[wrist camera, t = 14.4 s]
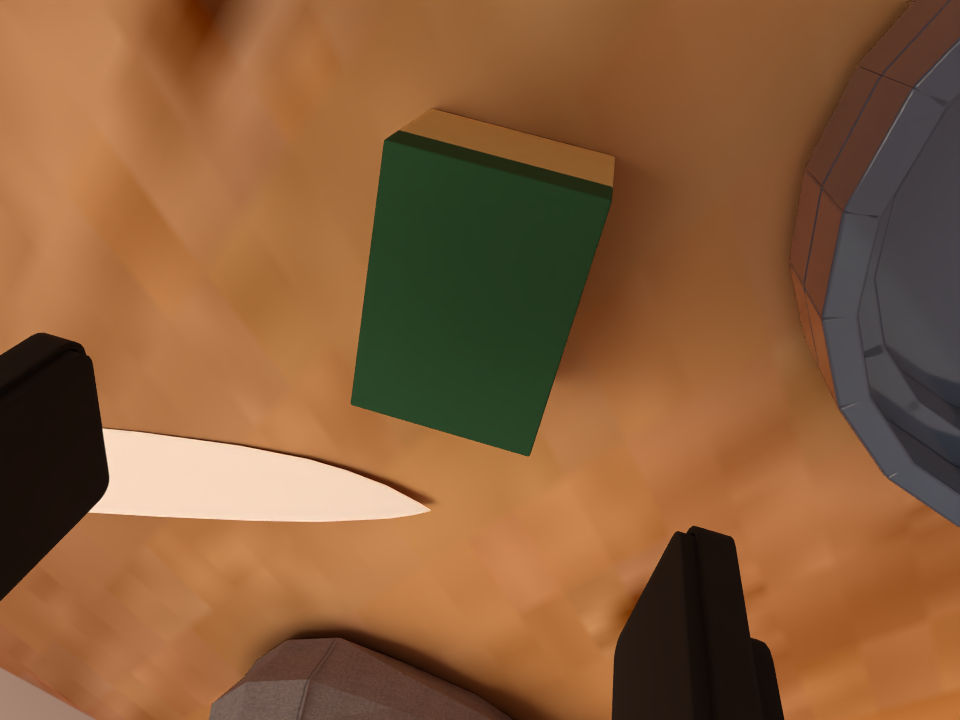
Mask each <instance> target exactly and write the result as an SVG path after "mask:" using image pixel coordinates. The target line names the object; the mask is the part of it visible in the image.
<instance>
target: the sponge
mask: <svg viewBox="0 0 960 720" xmlns="http://www.w3.org/2000/svg"><path fill="white" fill-rule="evenodd" d="M614 168H615V157H614V156H611V155H607V154H603V153H599V152H596V151H592V150H588V149H584V148H580V147H576V146H573V145H569V144H565V143H561V142H557V141H554V140H550V139H546V138H542V137H538V136H535V135H531V134H527V133H523V132H519V131H516V130H512V129H508V128H504V127H500V126H496V125H493V124H489V123H485V122H481V121H477V120H474V119H470V118H466V117H462V116H458V115H455V114H451V113H447V112H443V111H439V110H435V109H430V110H428V111H427V112H425V113H424V114H422V115H421V116H419V117H418V118H416V119H415V120H413V121H412V122H410V123H409V124H407V125H406V126H404V127H403V128H401V129H400V130H399V131H397V132H396V133H394V134H393V135H391V136H390V137H388V138H387V139H385V140H384V146H383V153H382V161H381V169H380V177H379V185H378V193H377V201H376V209H375V216H374V224H373V232H372V240H371V248H370V256H369V264H368V271H367V279H366V287H365V295H364V303H363V311H362V319H361V327H360V334H359V342H358V350H357V358H356V366H355V374H354V382H353V390H352V397H351V405H354V406H357V407H361V408H364V409H368V410H371V411H374V412H378V413H381V414H385V415H388V416H391V417H395V418H398V419H402V420H405V421H409V422H412V423H415V424H419V425H422V426H426V427H429V428H433V429H436V430H439V431H443V432H446V433H450V434H453V435H456V436H460V437H463V438H467V439H470V440H474V441H477V442H480V443H484V444H487V445H491V446H494V447H498V448H501V449H504V450H508V451H511V452H515V453H518V454H522V455H525V456H530V454H531V451H532V447H533V444H534V441H535V438H536V435H537V432H538V429H539V426H540V423H541V420H542V416H543V413H544V410H545V407H546V404H547V401H548V398H549V395H550V392H551V389H552V385H553V382H554V379H555V376H556V373H557V370H558V367H559V364H560V361H561V358H562V354H563V351H564V348H565V345H566V342H567V339H568V336H569V333H570V330H571V327H572V323H573V320H574V317H575V314H576V311H577V308H578V305H579V302H580V299H581V295H582V292H583V289H584V286H585V283H586V280H587V277H588V274H589V271H590V268H591V264H592V261H593V258H594V255H595V252H596V249H597V246H598V243H599V240H600V237H601V233H602V230H603V227H604V224H605V221H606V218H607V215H608V212H609V209H610V206H611V202H612V192H613V180H614Z"/></svg>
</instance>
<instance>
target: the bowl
mask: <svg viewBox="0 0 960 720" xmlns="http://www.w3.org/2000/svg"><path fill="white" fill-rule="evenodd" d="M858 66H859V67H857V68H856V69H855V71H854V73H853V74H852V76H851V78H850V80H849V82H848V84H847V86H846V88H845V90H844V92H843V94H842V96H841V98H840V100H839V102H838V104H837V106H836V108H835V110H834V112H833V114H832V116H831V118H830V120H829V122H828V124H827V125H826V127H825V129H824V131H823V133H822V135H821V137H820V139H819V141H818V143H817V145H816V147H815V149H814V151H813V153H812V155H811V157H810V159H809V161H808V163H807V165H806V169H805V171H804V174H803V180H802V186H801V192H800V198H799V204H798V210H797V216H796V222H795V228H794V234H793V240H792V246H791V252H790V258H789V259H790V269H791V273H792V278H793V283H794V288H795V293H796V298H797V303H798V308H799V313H800V318H801V323H802V328H803V333H804V337H805V339H806V342H807V344H808V346H809V348H810V350H811V353H812V355H813V357H814V359H815V361H816V363H817V365H818V367H819V369H820V371H821V373H822V376H823V378H824V380H825V382H826V384H827V386H828V388H829V390H830V392H831V394H832V396H833V399H834V401H835V403H836V405H837V407H838V409H839V411H840V412H841V414H842V415H843V417H844V418H845V419H846V421H847V422H848V424H849V425H850V427H851V428H852V430H853V431H854V433H855V434H856V436H857V437H858V438H859V440H860V441H861V443H862V444H863V446H864V447H865V449H866V450H867V452H868V453H869V455H870V456H871V457H872V459H873V460H874V462H875V463H876V465H877V466H878V468H879V469H880V471H881V472H882V473H883V475H885V476H886V477H887V479H889V480H890V481H892V482H893V483H894V484H896V485H897V486H899V487H900V488H902V489H903V490H905V491H906V492H908V493H909V494H911V495H912V496H913V497H915V498H916V499H918V500H919V501H921V502H922V503H924V504H925V505H927V506H928V507H930V508H931V509H932V510H934V511H935V512H937V513H938V514H940V515H941V516H943V517H944V518H946V519H947V520H949V521H950V522H951V523H953V524H954V525H956V526H957V527H960V0H914V1H913V3H912V4H911V5H910V6H909V7H908V8H907V9H906V10H905V12H904V13H903V14H902V15H901V16H900V17H899V18H898V19H897V21H896V22H895V23H894V24H893V25H892V26H891V27H890V28H889V30H888V31H887V32H886V33H885V34H884V35H883V36H882V37H881V39H880V40H879V41H878V42H877V43H876V44H875V45H874V46H873V48H872V49H871V50H870V51H869V52H868V53H867V54H866V55H865V57H864V58H863V59H862V60H861V61H860V62H859V63H858Z"/></svg>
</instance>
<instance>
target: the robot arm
mask: <svg viewBox="0 0 960 720" xmlns="http://www.w3.org/2000/svg"><path fill="white" fill-rule="evenodd" d="M108 485H109V470H108V463H107V457H106V450H105V443H104V436H103V430H102V423H101V416H100V409H99V403H98V396H97V389H96V382H95V376H94V369H93V363H92V360H91V358H90V357H89V356H87V355H86V353H85V350H84V348H83V346H82V345H81V344H79V343H77V342H74V341H70V340H67V339H64V338H60V337H57V336H53V335H50V334H47V333H37V334H35V335H32V336H30V337H29V338H27V339H26V340H24V341H22V342H21V343H19V344H18V345H16V346H14V347H13V348H11V349H10V350H8V351H7V352H5V353H3V354H2V355H0V601H1V600H2V599H3V598H4V597H5V596H6V595H7V594H8V593H9V592H10V591H11V590H12V589H13V588H14V587H15V586H16V585H17V584H18V583H19V582H20V581H21V580H22V579H23V578H24V577H25V576H26V575H27V574H28V573H29V572H30V571H31V570H32V569H33V568H34V567H35V566H36V565H37V564H38V563H39V561H40V560H41V559H42V558H43V557H44V556H45V555H46V554H47V553H48V552H49V551H50V550H51V549H52V548H53V547H54V546H55V545H56V544H57V543H58V542H59V541H60V540H61V539H62V538H63V537H64V536H65V535H66V534H67V533H68V532H69V531H70V530H71V529H72V528H73V527H74V526H75V525H76V524H77V523H78V522H79V521H80V520H81V519H82V518H83V517H84V516H85V515H86V514H87V513H88V512H89V511H90V510H91V509H92V508H93V507H94V506H95V505H96V504H97V503H98V502H99V501H100V499H101V498H102V497H103V496H104V494H105V492H106V490H107V488H108ZM612 720H784V716H783V710H782V705H781V700H780V694H779V689H778V684H777V679H776V673H775V668H774V663H773V659H772V656H771V652H770V650H769V648H768V647H767V645H766V644H765V643H764V642H762V641H760V640H757V639H753V638H750V632H749V626H748V620H747V614H746V608H745V601H744V595H743V589H742V583H741V577H740V570H739V564H738V558H737V552H736V546H735V542H734V540H733V538H732V537H731V536H727V535H724V534H720V533H717V532H714V531H710V530H707V529H704V528H700V527H697V526H692V527H691V528H689V530H688V531H687V533H682V532H679V531H677V532H675V533H674V535H673V536H672V538H671V540H670V542H669V544H668V546H667V548H666V549H665V551H664V553H663V555H662V557H661V559H660V561H659V563H658V565H657V566H656V568H655V570H654V572H653V574H652V576H651V578H650V580H649V581H648V583H647V585H646V587H645V589H644V591H643V593H642V595H641V596H640V598H639V600H638V602H637V604H636V606H635V608H634V610H633V611H632V613H631V615H630V617H629V619H628V621H627V623H626V625H625V626H624V628H623V630H622V632H621V634H620V636H619V638H618V642H617V645H616V649H615V655H614V674H613V701H612Z"/></svg>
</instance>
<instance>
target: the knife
mask: <svg viewBox="0 0 960 720" xmlns="http://www.w3.org/2000/svg"><path fill="white" fill-rule="evenodd" d="M102 430H103V436H104V443H105V450H106V457H107V463H108V470H109V485H108V488H107V490H106V492H105V494H104V496H103V497H102V498H101V499H100V501H99V502H98V503H97V504H96V505H95V506H94V507H93V508H92V509H91V510H90V511H89V512H91V513H108V514H124V515H141V516H158V517H180V518H203V519H226V520H249V521H298V522H326V521H350V520H369V519H387V518H396V517H403V516H411V515H415V514H420V513H424V512H428V511H431V510H430V509H428V508H427V507H425V506H424V505H422V504H421V503H419V502H417V501H415V500H413V499H411V498H410V497H408V496H406V495H404V494H402V493H400V492H398V491H396V490H394V489H393V488H391V487H389V486H387V485H384V484H382V483H379V482H376V481H374V480H371V479H369V478H366V477H363V476H361V475H358V474H355V473H353V472H350V471H347V470H344V469H341V468H337V467H334V466H330V465H327V464H324V463H320V462H317V461H313V460H310V459H306V458H300V457H295V456H290V455H285V454H280V453H275V452H270V451H265V450H260V449H255V448H250V447H245V446H239V445H232V444H225V443H217V442H210V441H203V440H195V439H188V438H181V437H173V436H166V435H159V434H151V433H144V432H135V431H125V430H114V429H104V428H102Z"/></svg>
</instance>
